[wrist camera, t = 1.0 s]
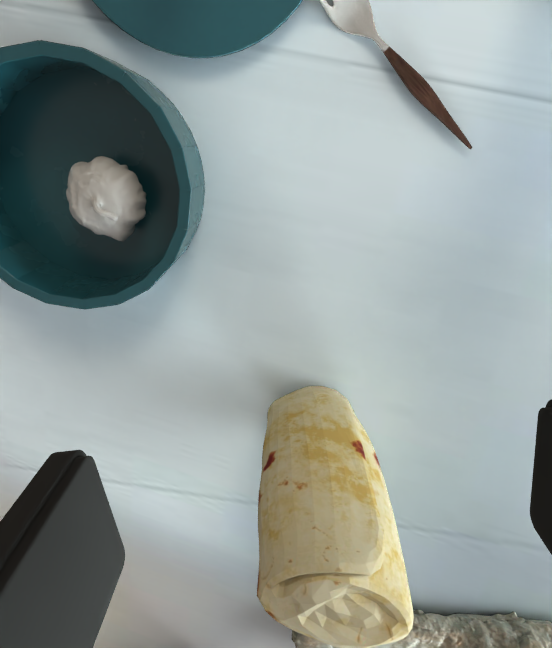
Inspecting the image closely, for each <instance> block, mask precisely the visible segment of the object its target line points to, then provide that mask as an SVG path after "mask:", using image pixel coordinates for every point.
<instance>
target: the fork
mask: <svg viewBox="0 0 552 648" xmlns="http://www.w3.org/2000/svg"><path fill="white" fill-rule="evenodd" d="M319 1H320V3H321V4H322V6H323V8H324V9H325V11H326V12H327V14H328V16H329V17H330V19H331V20H332V22H333V23H334V24H335V25H336V27H338V28H339V29H340V30H342V31H344V32H346V33H349V34H353V35H358V36H363V37H367V38H370V39H372V40H373V41H375V42H376V43H377V45H378V46H379V47H380V48H381V50H382V51H383V53H384V54H385V56H386V57H387V59H388V60H389V62H390V63H391V65H392V66H393V68H394V69H395V71H396V72H397V74H398V75H399V77H400V78H401V80H402V81H403V83H404V84H405V85H406V87H407V88H408V90H409V91H410V92H411V93H412V94H413V96H414V97H415V98H416V99H417V100H418V101H419V102H420V103H421V104H422V105H423V106H424V107H426V108H427V109H428V110H429V111H430V112H431V113H432V114H433V115H434V116H436V117H437V118H438V119H439V120H440V121H441V122H442V123H443V124H444V125H445V126H446V127H447V128H448V129H449V130H450V131H451V132H452V133H453V134H455V135H456V136H457V137H458V138H459V139H460V140H461V141H462V142H463V143H464V144H465V145H466V146H467V147H468V148H469V149H471V148H472V146H471V144H470V143H469V141H468V140H467V138H466V137H465V136H464V134H463V133H462V131H461V130H460V129H459V127H458V126H457V124H456V123H455V122H454V120H453V119H452V117H451V116H450V114H449V113H448V111H447V110H446V108H445V107H444V105H443V104H442V102H441V101H440V99H439V98H438V96H437V95H436V93H435V92H434V91H433V89H432V88H431V87H430V85H429V84H428V83H427V82H426V81H425V79H424V78H423V77H422V76H421V75H420V74H419V73H418V72H417V71H416V70H414V69H413V68H412V67H411V66H410V65H409V64H408V63H407V62H406V61H405V60H404V59H402V58H401V57H400V56H399V55H398V54H397V53H396V52H395V51H394V50H393V49H392V48H390V47H389V46H388V45H387V44H386V43H385V42H384V41H383V40H382V39H381V37H380V36H379V34H378V33H377V30H376V27H375V23H374V19H373V14H372V10H371V6H370V3H369V0H332V1H333V6H330V5H329V4H328V3H327V2H326V0H319Z"/></svg>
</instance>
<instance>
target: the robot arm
mask: <svg viewBox="0 0 552 648" xmlns="http://www.w3.org/2000/svg"><path fill="white" fill-rule="evenodd" d="M530 516H531V520H532V523H533V526H534V528H535V530H536V532H537V533H538V535H539V536H540V538H541V539H542V541H543V542H544V544H545V545H546V547H547V548H548V550H549V551H550V553H551V554H552V400H550V401H548V403H547V405H546V408H541V409H540V411H539V414H538V423H537V434H536V446H535V457H534V469H533V481H532V492H531V504H530ZM124 560H125V550H124V546H123V543H122V541H121V538H120V535H119V532H118V529H117V526H116V523H115V520H114V517H113V514H112V511H111V508H110V505H109V502H108V499H107V497H106V494H105V491H104V488H103V485H102V482H101V479H100V476H99V473H98V470H97V467H96V464H95V461H94V459H93V458H92V457H91V456H86V454H85V453H84V452H83V451H82V450H74V451H65V452H56V453H53V454H51V455H50V456H49V458H48V459H47V460H46V462H45V463H44V464H43V466H42V467H41V468H40V470H39V471H38V472H37V474H36V475H35V476H34V478H33V479H32V480H31V482H30V483H29V484H28V486H27V487H26V488H25V490H24V491H23V492H22V494H21V495H20V496H19V498H18V499H17V500H16V502H15V503H14V504H13V506H12V507H11V508H10V510H9V511H8V512H7V514H6V515H5V516H4V518H3V519H2V520H1V522H0V648H93V646H94V643H95V640H96V638H97V635H98V632H99V630H100V627H101V624H102V622H103V619H104V617H105V614H106V611H107V609H108V606H109V603H110V601H111V598H112V595H113V593H114V590H115V587H116V585H117V582H118V579H119V577H120V574H121V571H122V569H123V566H124Z"/></svg>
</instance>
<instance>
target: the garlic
mask: <svg viewBox="0 0 552 648" xmlns="http://www.w3.org/2000/svg"><path fill="white" fill-rule="evenodd" d="M67 185H68V188H67V190H66V196H67V200H68V201H69V210H70V212H71V214H72V216H73V218H74V219H76V221H77V222H78V223H79V224H81V225H82V226H84V227H86V228H88V229H90V230H92V231H93V232H94V233H95V234H97V235H106V236H109V237H112V238H114V239H115V240H118V241H124V240H126V239H127V238H128V236H130V235H131V234H132V233H133V231H134V229H135V224H136V223H138V222H139V221H140V220H142V219H143V218H144V217H145V214H146V211H145V205H146V193H145V192H144V191H143V188H142V185H141V184H140V183H139V181H138V178H137V176H136V174H135V173H134V172H132V171H130V170H128V167H127V165H120V164H119V163H117V162H116V161H114V160H113V159H111V158H108V157H105V156H99V157H96V158H94V159H93V160H92V161H91V162H88V163H87V162H78V163H75V164H74V165H73V166H72V167H71V169H70V172H69V176H68V184H67Z"/></svg>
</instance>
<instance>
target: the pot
mask: <svg viewBox="0 0 552 648" xmlns="http://www.w3.org/2000/svg"><path fill="white" fill-rule="evenodd" d="M99 156H105V157H108V158H111V159H113V160H114V161H116V162H117V163H119V164H120V165H127V167H128V170H130V171H132V172H134V173H135V174H136V176H137V178H138V181H139V183H140V184H141V185H142V188H143V191H144V192H145V193H146V205H145V211H146V214H145V217H144V218H143V219H142V220H140V221H139V222H138V223H136V224H135V229H134V231H133V233H132V234H131V235H130V236H128V238H127V239H126V240H124V241H118V240H115V239H114V238H112V237H109V236H106V235H97V234H95V233H94V232H93V231H92V230H90V229H88V228H86V227H84V226H82V225H81V224H79V223H78V222H77V221H76V219H74V218H73V216H72V214H71V212H70V210H69V201H68V200H67V196H66V190H67V188H68V185H67V184H68V176H69V172H70V169H71V167H72V166H73V165H74V164H75V163H78V162H87V163H88V162H91V161H92V160H93V159H94V158H96V157H99ZM204 185H205V184H204V173H203V167H202V161H201V158H200V154H199V151H198V148H197V145H196V142H195V140H194V138H193V135H192V133H191V131H190V129H189V127H188V126H187V124H186V122H185V120H184V119H183V117H182V116H181V114H180V113H179V111H178V110H177V108H176V107H175V106H174V105H173V103H172V102H171V101H170V100H169V99H168V98H167V97H166V96H165V95H164V94H163V93H162V92H161V91H160V90H159V89H158V88H156V87H155V86H154V85H153V84H152V83H151V82H150V81H149V80H148V79H146V78H144V77H142V76H140V75H138V74H137V73H135V72H133V71H131V70H129V69H128V68H126V67H124V66H122V65H120V64H118V63H117V62H115V61H113V60H110V59H108V58H106V57H103V56H101V55H99V54H97V53H94V52H92V51H90V50H87V49H85V48H82V47H76V46H70V45H65V44H59V43H53V42H48V41H42V40H40V41H39V40H37V41H32V42H27V43H22V44H16V45H11V46H6V47H1V48H0V278H1V279H2V280H3V281H5V282H6V283H7V284H8V285H10V286H11V287H12V288H14V289H16V290H18V291H20V292H23V293H25V294H27V295H29V296H31V297H34V298H36V299H38V300H40V301H42V302H45V303H48V304H54V305H60V306H66V307H73V308H79V309H91V308H98V307H105V306H112V305H118V304H121V303H123V302H125V301H127V300H129V299H131V298H133V297H135V296H137V295H139V294H141V293H143V292H145V291H147V290H149V289H150V288H151V287H152V286H153V285H154V284H155V283H156V282H157V281H158V280H159V279H160V278H161V276H162V275H163V274H164V273H165V272H166V271H167V270H168V269H169V268H170V267H171V266H172V265H173V264H174V263H175V262H176V260H177V259H178V258H179V257H180V256H181V255H182V254H183V253H184V252H185V251H186V250H187V248H188V247H189V245H190V242H191V240H192V238H193V236H194V234H195V233H196V230H197V227H198V225H199V222H200V220H201V216H202V210H203V205H204V193H205V188H204Z"/></svg>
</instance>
